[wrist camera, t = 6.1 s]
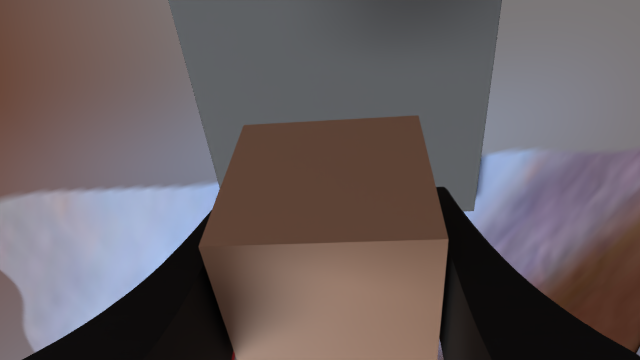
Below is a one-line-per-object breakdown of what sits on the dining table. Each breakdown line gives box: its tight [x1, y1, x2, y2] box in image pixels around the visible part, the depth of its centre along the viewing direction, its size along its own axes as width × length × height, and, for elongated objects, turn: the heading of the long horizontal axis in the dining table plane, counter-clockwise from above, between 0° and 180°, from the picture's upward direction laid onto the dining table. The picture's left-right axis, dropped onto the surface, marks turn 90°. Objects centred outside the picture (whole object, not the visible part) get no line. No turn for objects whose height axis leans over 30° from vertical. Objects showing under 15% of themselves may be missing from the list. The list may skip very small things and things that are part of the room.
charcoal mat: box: [168, 0, 502, 211], centre depth 20 cm, size 12×12×1 cm
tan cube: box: [199, 115, 449, 360], centre depth 13 cm, size 5×5×5 cm
